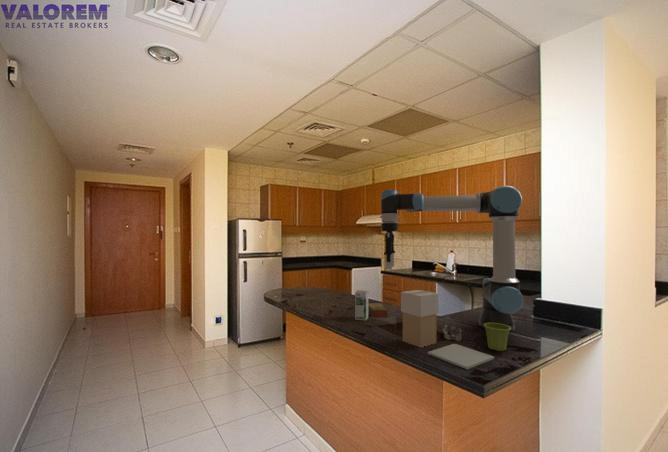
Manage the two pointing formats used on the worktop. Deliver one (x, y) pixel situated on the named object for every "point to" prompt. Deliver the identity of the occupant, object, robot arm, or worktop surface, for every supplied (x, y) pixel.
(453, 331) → the egg carton
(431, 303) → the off-white cube block
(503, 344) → the plant pot
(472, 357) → the board
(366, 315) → the syrup box
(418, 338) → the brown open box
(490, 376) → the worktop surface
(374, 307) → the carton
